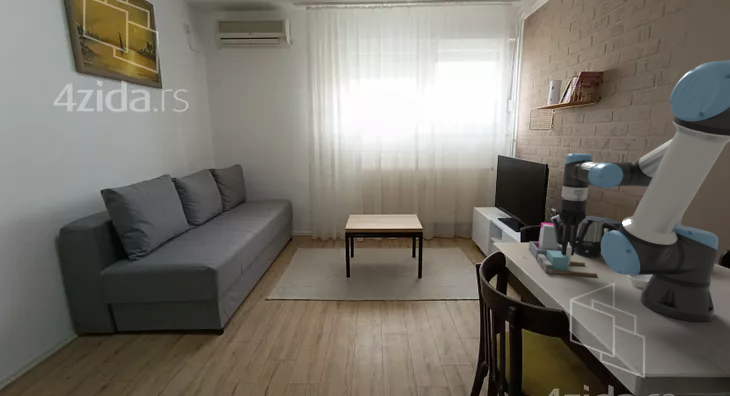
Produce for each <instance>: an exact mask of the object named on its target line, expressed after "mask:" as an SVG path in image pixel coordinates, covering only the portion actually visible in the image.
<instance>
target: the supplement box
mask: <svg viewBox="0 0 730 396" xmlns="http://www.w3.org/2000/svg"><path fill="white" fill-rule="evenodd" d="M539 229H540V231H539V238H538V242H539V245H538V249H539V250H555V251H557V248H558V243H557V242H556V237H555V231H554V225H553V222H551V223H550V222H541V223H540V228H539Z"/></svg>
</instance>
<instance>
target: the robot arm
mask: <svg viewBox="0 0 730 396" xmlns="http://www.w3.org/2000/svg"><path fill="white" fill-rule="evenodd" d="M669 103H670V104H671V105H670V108H669V109H670V111H671V112H672V114H673V115H674V118H673V120H672V123H673V125H674V127H675V129H676V132H675V134H674V136H672V137H673V138H671V139H669V140H667V141H666V142H665V143H663V144H661V145H659V146H658V147H656V148H654V149H652V150H651V151H649V152H648V153H646V154H645V155H643V156H642V157H640V158H638V159H636V160H635V161H620V162H619V161H617V162H616V161H615V162H614V161H610V162H609V161H607V162H606V161H593V155H592V154H590V153H584V152H583V153H578V152H577V153H572V152H571V153H567V155H566V156H565V163H564V168H563V169H564V171H563V178H562V179H563V181H562V187H561V189H562V190H561V197H562V198H561V200H560V207H559V212H558V214H557V215H555V216H551V217H550V220H551V223H553V225H554V231H555V237H556V242H557V243H558V244H559V245H561V246H562V248H561V254H562V255H566V256H567V257H568V258H569V261H568V266H571V265H570V261H571V259H572V256H575V255H574V254H575V252H574V250H575V248H576V246H581V244H582V242H583V240H584V237H585V235H586V232H587V230H588V228H589V226H590V225H591V224H592V223H593V221H592V220H591V219H589V218H587V217H586V216H587V214H586V209H587V202H588V201H587V199H588V191H589V186H594V187H597V188H598V189H599V188H600V189H602V188H604V189H613V188H615V187H641V188H644V187H645V188H646V187H647V188H646V190H645V192H644V194H643V196H642V197H641V199H640V201H639V203H638V205H637V207H636V210H635V211H634V214H633V215H632V216H627V217H625V218H624V219H622V221H621V225H620V227H619V229H618V230H617V231H615V230H612V231H610V232H607V233H605V234H604V236H603V237H602V240H601V252H600V253H601V255H602V257H603V260H604V261H605V263H606V265H607V266H608V268H609V269H611V270H612V271H613V272H615V273H617V274H618V275H628V276H629V275H630V276H643V275H644V276H645V275H647V276H649V275H650V276H651V277H650V279H649V280H648V282H647V283H646V284H645V286H644V287H643V289H642V290H641V293H640V301H641V303H642V304H643V305H644V306H645V307H647V308H648V309H651V310H652V311H655V312H657V313H659V314H661V315H665V316H667V317H671V318H674V319H678V320H683V321H688V322H696V323H697V322H699V323H701V322H702V323H703V322H704V323H705V322H710V321H712V320H713V319H714V314H715V307H714V303H713V299H712V294H711V290H710V288H711V286H710V285H711V281H712V278H713V272H714V268H715V264H716V258H717V254H718V251H719V248H718V247H719V237H718V236H717V234H715V233H713V232H711V231H707V230H703V229H700V228H696V227H692V226H687V225H683V224H681V225H677V224H678V222H679V221H680V219H681V217H682V216H684V214H685V213H686V210H688V207H689V206H690V204H691V202H692V201H693V199H694V198H695V196H696V195H697V193H698V191H699V190H700V188H701V186H702V184H703V183H704V182H705V180H706V178H707V177H708V175H709V173H710V171H711V169H712V168H713V166H714V165H715V163H716V161H717V159H719V156H720V154H721V153H722V151H723V149H724V148H725V147H726V144H729V143H730V59H726V60H717V61H716V60H715V61H707V62H704V63H701V64H699V65H698V66H696V67H694V68H692V69H691V70H689V71H687V72H686V73H685V74H684V75H683V76H682V77H681V78H680V79H679V80H678V82H676V84H675V85H674V87H673V89H672V91H671V94H670V98H669ZM682 218H683V217H682ZM560 221H561V222H562V226H563V227H562V233H561V226H560V223H559V222H560ZM582 221H583V224H582V226H581V228H580V231H579V233H578V236H577V230H578V227H579V224H580V223H581V222H582Z"/></svg>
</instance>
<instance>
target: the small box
mask: <svg viewBox="0 0 730 396" xmlns="http://www.w3.org/2000/svg"><path fill="white" fill-rule="evenodd" d="M602 218H604V219H605V221H604V222H605V223H611V224H613V225H615V226H616V227H617V229H619V227H620V225H621V223H622V221H621V222H620V221H619V220H618V221H617V220H615V219H612V218H611V217H602ZM610 231H611V230H610V229H607V228H604V234H605V233H607V232H610ZM604 234H603V236H604Z"/></svg>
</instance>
